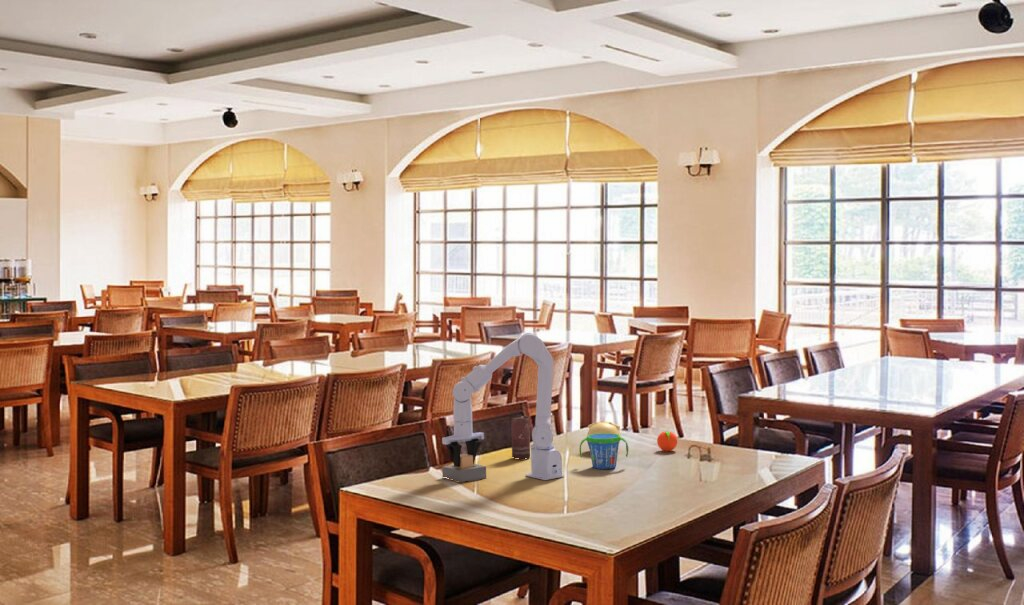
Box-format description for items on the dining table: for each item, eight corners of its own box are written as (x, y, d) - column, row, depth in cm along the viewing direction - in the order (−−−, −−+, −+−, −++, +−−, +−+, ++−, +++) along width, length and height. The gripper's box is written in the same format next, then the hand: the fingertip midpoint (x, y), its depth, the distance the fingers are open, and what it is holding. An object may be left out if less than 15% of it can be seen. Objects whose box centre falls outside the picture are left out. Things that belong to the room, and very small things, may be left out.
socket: (486, 478, 303) (486, 466, 303) (460, 482, 297) (460, 470, 297) (467, 473, 310) (467, 462, 310) (442, 478, 304) (442, 466, 304)
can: (530, 456, 337) (530, 415, 337) (529, 460, 331) (528, 418, 330) (513, 456, 338) (512, 415, 337) (511, 460, 331) (510, 418, 331)
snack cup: (577, 470, 312) (577, 438, 312) (582, 463, 322) (581, 432, 322) (627, 471, 309) (626, 438, 309) (630, 464, 319) (629, 433, 319)
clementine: (679, 453, 337) (679, 432, 337) (659, 453, 337) (658, 432, 337) (675, 449, 345) (675, 428, 345) (656, 449, 345) (655, 429, 345)
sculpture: (622, 449, 348) (621, 418, 347) (618, 455, 336) (617, 423, 336) (590, 448, 350) (589, 418, 350) (584, 454, 339) (584, 423, 338)
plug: (473, 475, 303) (472, 455, 303) (462, 477, 301) (462, 457, 300) (465, 473, 306) (465, 453, 306) (455, 475, 304) (454, 455, 303)
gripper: (474, 417, 311) (475, 460, 311) (436, 422, 302) (437, 466, 302) (487, 419, 305) (488, 463, 306) (449, 424, 296) (450, 469, 297)
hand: (464, 465), depth 303 cm, fingers open, 5 cm apart
